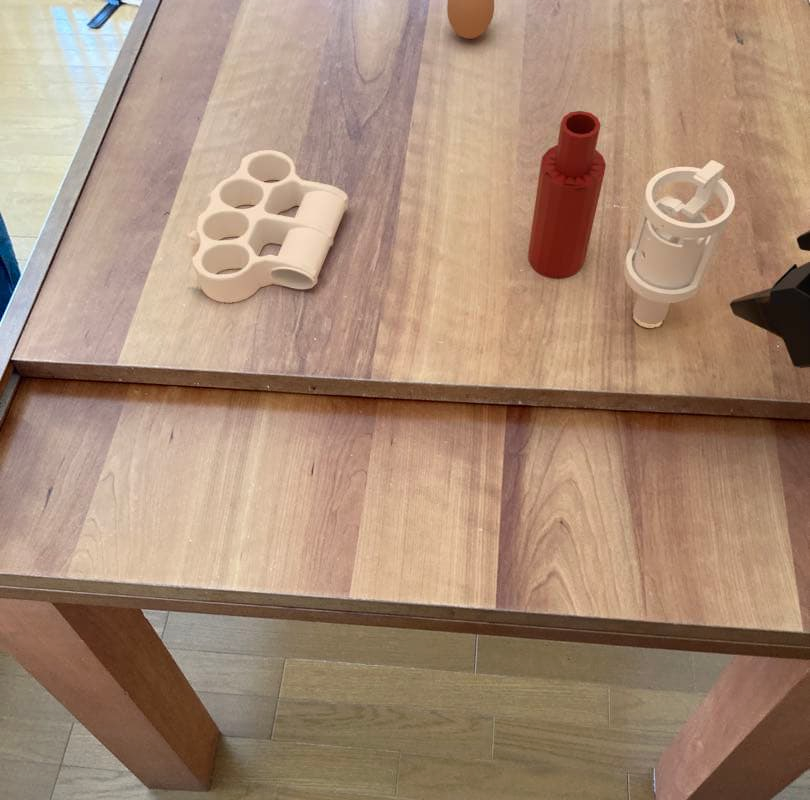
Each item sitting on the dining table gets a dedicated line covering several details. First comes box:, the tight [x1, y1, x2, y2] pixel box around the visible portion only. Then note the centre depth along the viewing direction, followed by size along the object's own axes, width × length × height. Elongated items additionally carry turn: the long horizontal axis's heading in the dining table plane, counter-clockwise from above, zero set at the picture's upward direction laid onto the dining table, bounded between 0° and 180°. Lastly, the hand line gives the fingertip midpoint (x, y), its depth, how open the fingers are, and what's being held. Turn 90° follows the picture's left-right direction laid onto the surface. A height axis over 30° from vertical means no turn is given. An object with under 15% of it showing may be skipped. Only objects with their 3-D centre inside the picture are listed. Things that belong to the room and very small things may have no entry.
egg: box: [446, 0, 495, 40], centre depth 94 cm, size 5×5×7 cm
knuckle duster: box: [185, 149, 350, 304], centre depth 83 cm, size 3×18×15 cm
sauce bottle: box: [527, 110, 607, 279], centre depth 75 cm, size 6×6×15 cm
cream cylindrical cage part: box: [623, 159, 736, 324], centre depth 72 cm, size 7×7×15 cm
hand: (766, 274), depth 65 cm, fingers open, 9 cm apart
